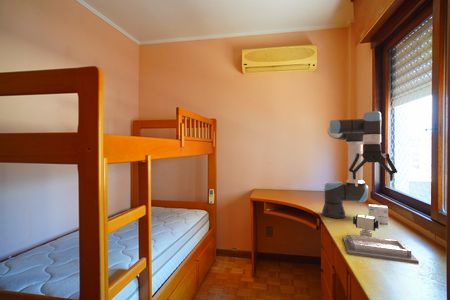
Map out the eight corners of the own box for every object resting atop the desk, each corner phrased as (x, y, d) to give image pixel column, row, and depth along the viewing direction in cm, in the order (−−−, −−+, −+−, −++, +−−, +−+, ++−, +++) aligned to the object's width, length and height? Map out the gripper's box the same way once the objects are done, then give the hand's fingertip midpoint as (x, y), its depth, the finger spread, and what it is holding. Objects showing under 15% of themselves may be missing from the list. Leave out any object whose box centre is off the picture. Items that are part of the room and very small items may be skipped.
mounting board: (342, 238, 124) (342, 237, 124) (402, 245, 115) (402, 243, 115) (348, 253, 106) (348, 251, 106) (418, 263, 97) (418, 261, 97)
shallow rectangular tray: (346, 239, 121) (346, 234, 121) (401, 245, 113) (401, 240, 112) (350, 249, 109) (350, 243, 109) (411, 257, 101) (411, 251, 101)
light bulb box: (387, 222, 153) (387, 205, 153) (388, 225, 147) (388, 207, 147) (368, 219, 158) (368, 203, 158) (368, 222, 152) (368, 205, 152)
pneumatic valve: (354, 233, 133) (354, 211, 132) (379, 238, 125) (379, 215, 125) (352, 236, 128) (352, 214, 128) (378, 241, 121) (377, 217, 121)
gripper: (344, 143, 116) (344, 186, 116) (405, 143, 108) (405, 189, 108) (342, 143, 123) (342, 184, 123) (399, 143, 115) (399, 186, 115)
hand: (372, 186), depth 115 cm, fingers open, 13 cm apart
